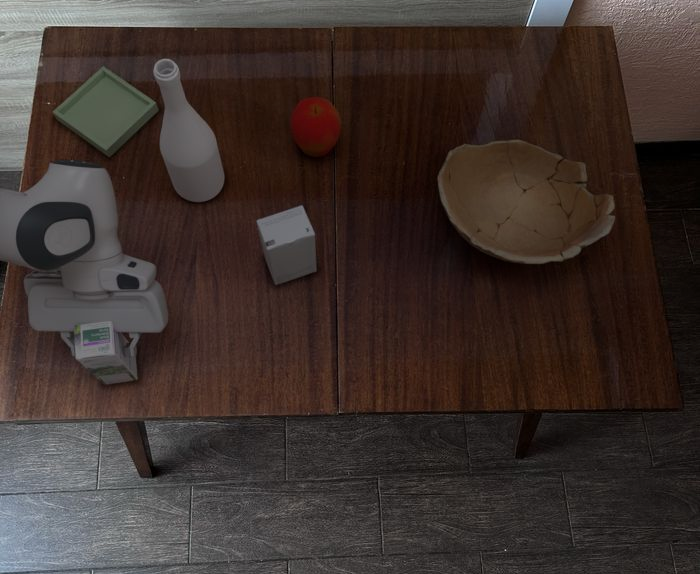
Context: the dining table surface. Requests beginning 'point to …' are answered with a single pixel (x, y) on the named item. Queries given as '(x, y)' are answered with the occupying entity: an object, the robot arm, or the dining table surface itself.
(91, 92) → the tray
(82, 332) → the syrup box
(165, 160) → the wine bottle
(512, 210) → the ceramic bowl
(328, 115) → the apple
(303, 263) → the cosmetic box
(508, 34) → the dining table surface
